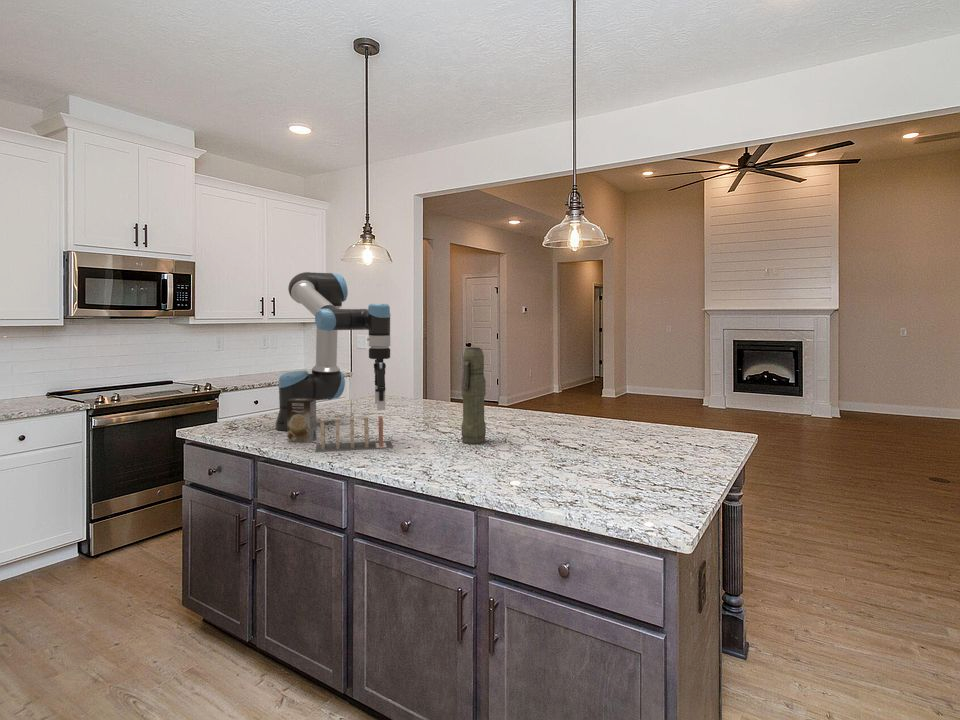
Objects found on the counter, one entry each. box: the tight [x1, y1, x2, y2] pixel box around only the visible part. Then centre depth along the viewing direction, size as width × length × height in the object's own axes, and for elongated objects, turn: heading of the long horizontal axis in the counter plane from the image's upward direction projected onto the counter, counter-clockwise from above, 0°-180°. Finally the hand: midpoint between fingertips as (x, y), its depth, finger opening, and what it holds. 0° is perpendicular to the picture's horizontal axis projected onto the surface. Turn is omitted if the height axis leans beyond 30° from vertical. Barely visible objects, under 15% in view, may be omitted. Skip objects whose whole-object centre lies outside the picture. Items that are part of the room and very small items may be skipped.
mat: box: [314, 440, 394, 453], centre depth 197 cm, size 12×26×1 cm, turn 104°
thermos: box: [461, 346, 487, 445], centre depth 204 cm, size 9×12×35 cm
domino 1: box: [320, 418, 326, 450], centre depth 193 cm, size 5×1×10 cm, turn 14°
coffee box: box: [286, 398, 317, 444], centre depth 205 cm, size 9×6×16 cm
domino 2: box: [334, 417, 341, 449], centre depth 194 cm, size 5×1×10 cm, turn 14°
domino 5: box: [378, 415, 384, 447], centre depth 198 cm, size 5×1×10 cm, turn 14°
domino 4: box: [363, 416, 370, 448], centre depth 197 cm, size 5×1×10 cm, turn 14°
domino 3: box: [349, 416, 355, 448], centre depth 196 cm, size 5×1×10 cm, turn 14°
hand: (380, 406), depth 197 cm, fingers open, 13 cm apart
